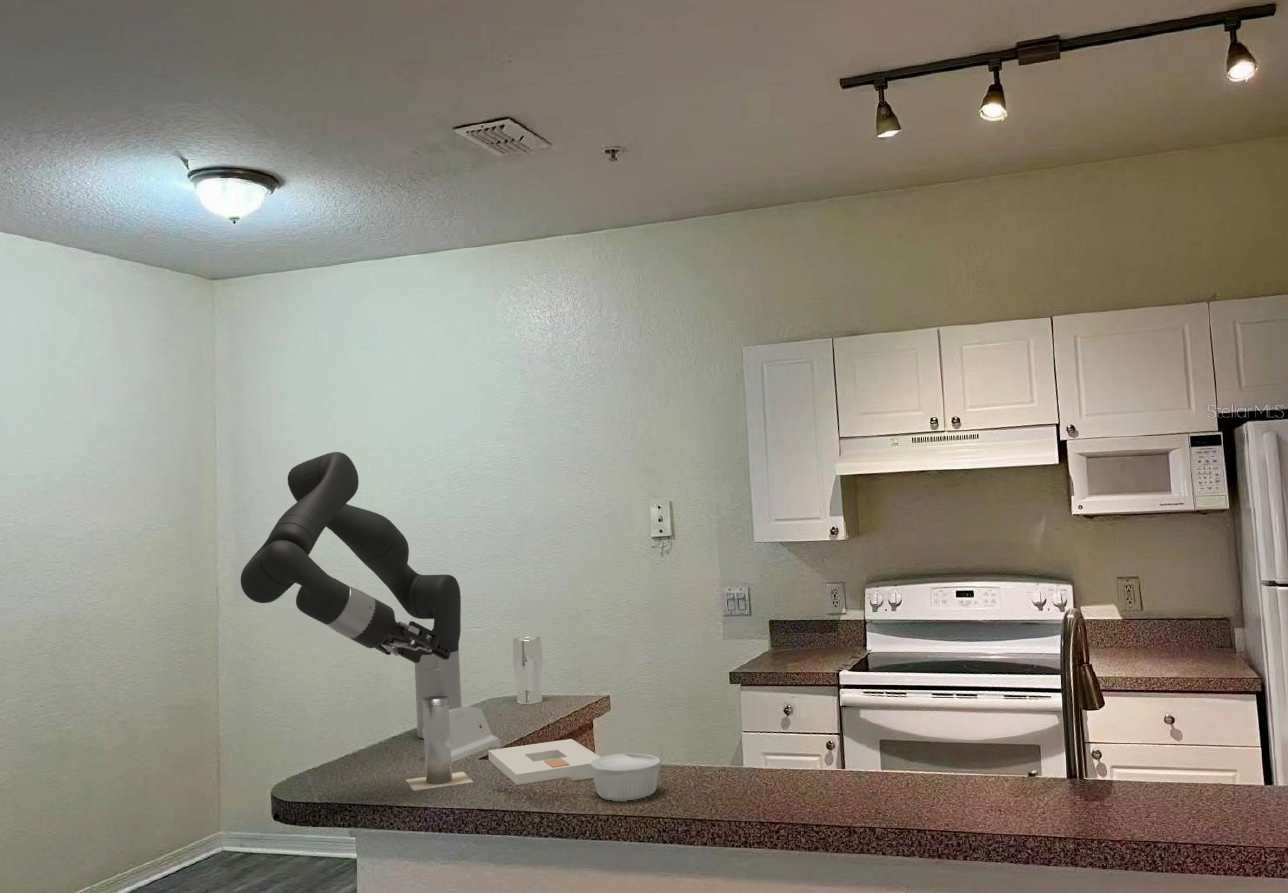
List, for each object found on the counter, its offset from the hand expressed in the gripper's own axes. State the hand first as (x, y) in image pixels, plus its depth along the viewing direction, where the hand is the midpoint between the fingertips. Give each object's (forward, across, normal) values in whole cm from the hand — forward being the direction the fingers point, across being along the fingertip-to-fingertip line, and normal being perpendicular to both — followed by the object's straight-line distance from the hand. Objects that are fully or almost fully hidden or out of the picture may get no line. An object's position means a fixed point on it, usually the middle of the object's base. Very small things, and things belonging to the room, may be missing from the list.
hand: (434, 656), depth 186 cm
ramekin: (+25, -28, +15) cm, 41 cm away
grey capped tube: (+11, +2, +18) cm, 21 cm away
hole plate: (+26, -6, +11) cm, 29 cm away
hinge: (+24, +17, +9) cm, 31 cm away
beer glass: (+59, +46, -17) cm, 76 cm away
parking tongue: (+11, +2, +19) cm, 22 cm away
